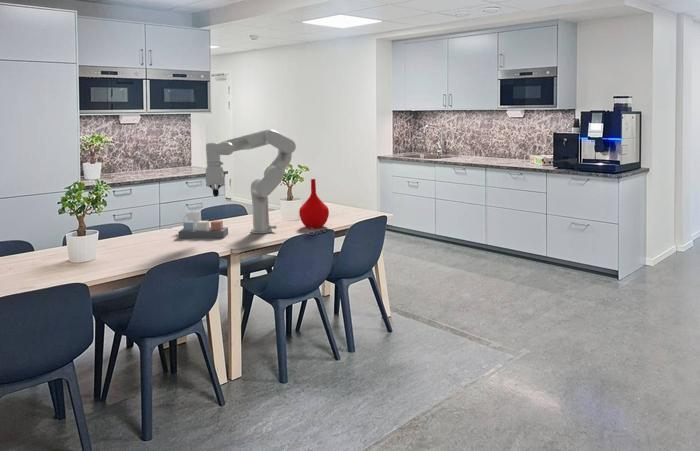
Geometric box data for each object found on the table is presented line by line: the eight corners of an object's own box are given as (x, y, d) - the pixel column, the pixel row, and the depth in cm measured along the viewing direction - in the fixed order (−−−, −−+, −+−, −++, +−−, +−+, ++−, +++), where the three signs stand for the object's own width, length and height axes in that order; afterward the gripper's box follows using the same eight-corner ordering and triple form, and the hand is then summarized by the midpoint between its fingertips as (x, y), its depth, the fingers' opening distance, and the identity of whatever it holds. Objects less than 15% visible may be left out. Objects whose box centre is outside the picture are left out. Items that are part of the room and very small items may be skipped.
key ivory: (209, 231, 358) (209, 220, 357) (207, 233, 352) (206, 222, 351) (200, 231, 358) (199, 220, 357) (197, 233, 353) (197, 222, 351)
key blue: (196, 231, 358) (195, 220, 357) (193, 233, 353) (192, 222, 351) (186, 231, 358) (185, 220, 357) (183, 233, 353) (183, 222, 351)
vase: (328, 229, 369) (327, 180, 364) (298, 229, 370) (296, 181, 364) (329, 224, 387) (328, 177, 382) (301, 224, 388) (299, 177, 382)
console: (228, 233, 361) (227, 227, 361) (223, 238, 350) (223, 231, 349) (184, 234, 362) (184, 227, 361) (178, 238, 350) (178, 231, 349)
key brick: (223, 231, 358) (222, 220, 357) (221, 233, 352) (220, 222, 351) (213, 231, 358) (213, 220, 357) (211, 233, 352) (210, 222, 351)
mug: (187, 233, 365) (185, 213, 362) (180, 231, 371) (179, 212, 369) (204, 230, 372) (203, 211, 370) (197, 228, 379) (196, 209, 376)
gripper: (228, 163, 352) (230, 195, 355) (202, 164, 352) (204, 195, 355) (225, 164, 344) (227, 197, 348) (199, 165, 345) (201, 197, 348)
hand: (216, 196), depth 352 cm, fingers closed
